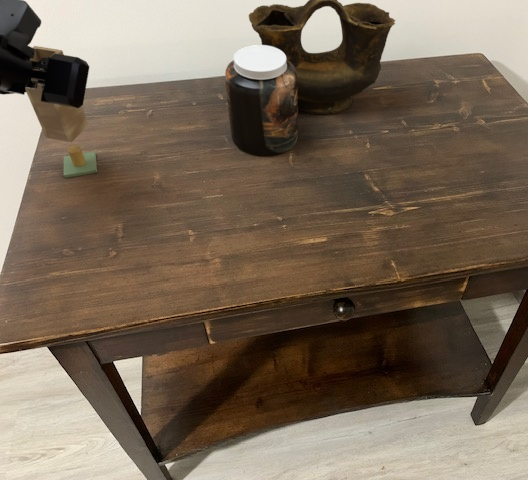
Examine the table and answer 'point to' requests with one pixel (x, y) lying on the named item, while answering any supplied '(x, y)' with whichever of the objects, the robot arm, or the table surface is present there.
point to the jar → (262, 100)
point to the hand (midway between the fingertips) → (58, 89)
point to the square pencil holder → (55, 108)
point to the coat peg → (79, 162)
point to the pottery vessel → (331, 62)
